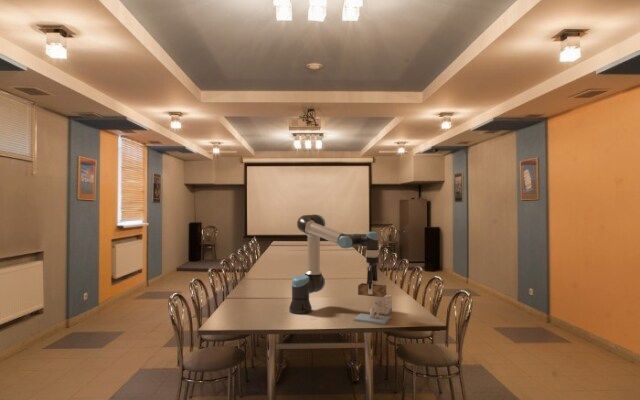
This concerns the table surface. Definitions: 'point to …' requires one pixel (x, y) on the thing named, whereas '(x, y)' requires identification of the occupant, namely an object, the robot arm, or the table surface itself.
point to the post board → (370, 320)
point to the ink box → (383, 304)
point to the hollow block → (377, 290)
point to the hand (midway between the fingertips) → (372, 292)
